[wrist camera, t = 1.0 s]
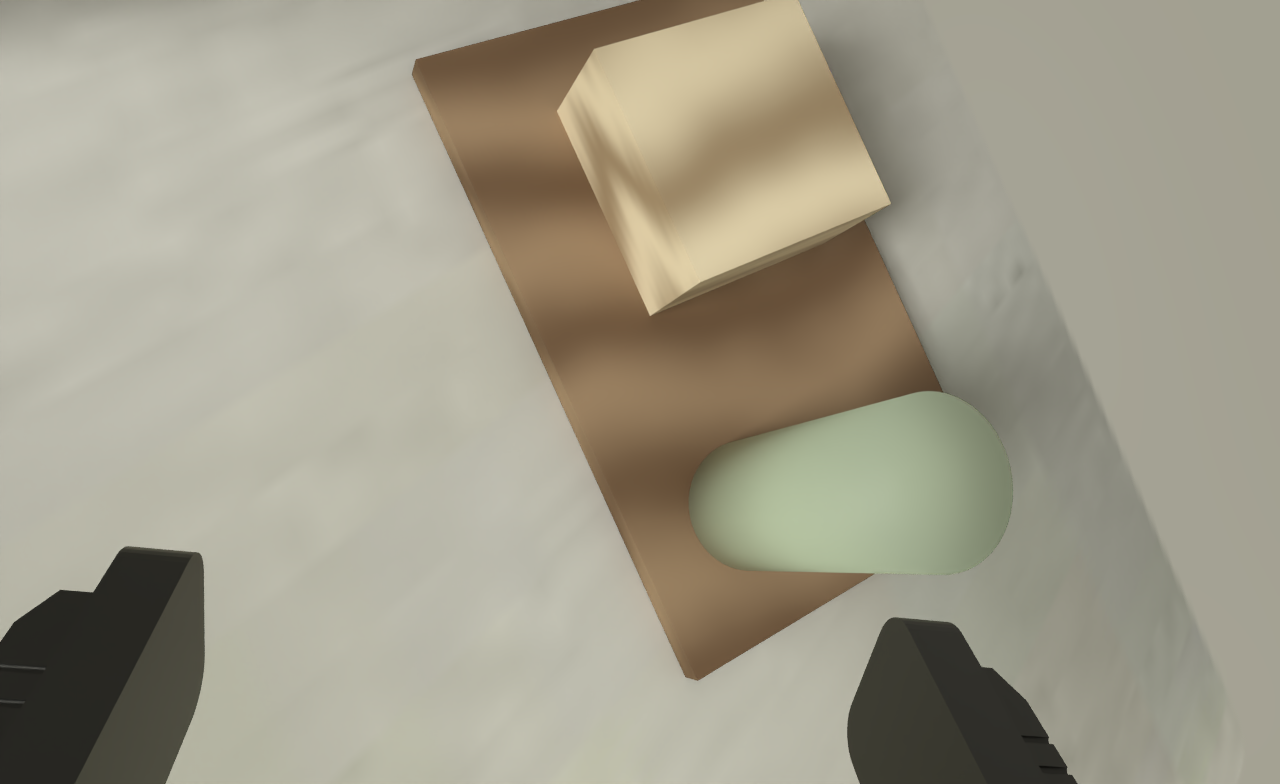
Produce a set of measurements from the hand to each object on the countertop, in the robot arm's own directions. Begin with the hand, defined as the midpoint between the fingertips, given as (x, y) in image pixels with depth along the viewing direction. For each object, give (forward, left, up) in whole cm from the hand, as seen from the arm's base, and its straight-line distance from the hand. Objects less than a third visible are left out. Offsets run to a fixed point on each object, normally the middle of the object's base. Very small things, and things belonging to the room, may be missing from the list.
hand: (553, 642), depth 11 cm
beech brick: (-10, +18, -23) cm, 31 cm away
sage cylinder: (+3, +14, -23) cm, 27 cm away
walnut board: (-5, +17, -24) cm, 30 cm away
